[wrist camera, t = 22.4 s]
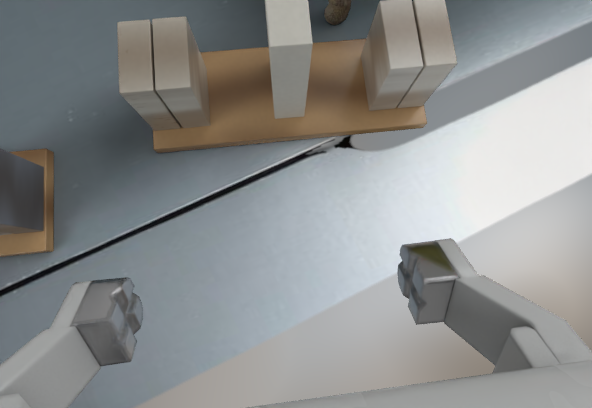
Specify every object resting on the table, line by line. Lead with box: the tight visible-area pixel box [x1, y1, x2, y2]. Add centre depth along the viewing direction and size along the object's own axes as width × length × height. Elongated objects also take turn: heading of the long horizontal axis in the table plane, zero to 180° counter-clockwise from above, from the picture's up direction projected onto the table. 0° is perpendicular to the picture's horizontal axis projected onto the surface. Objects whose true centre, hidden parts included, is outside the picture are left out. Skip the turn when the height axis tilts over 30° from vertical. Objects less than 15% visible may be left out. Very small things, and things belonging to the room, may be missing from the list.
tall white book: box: [265, 0, 313, 119], centre depth 26 cm, size 5×2×10 cm, turn 5°
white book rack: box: [117, 0, 457, 153], centre depth 28 cm, size 8×22×8 cm, turn 96°
